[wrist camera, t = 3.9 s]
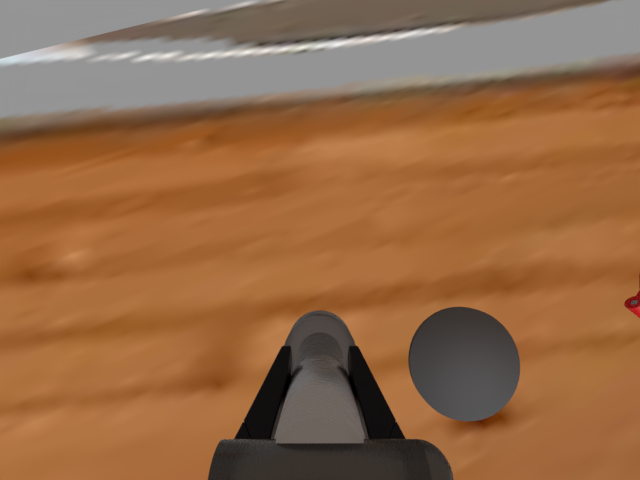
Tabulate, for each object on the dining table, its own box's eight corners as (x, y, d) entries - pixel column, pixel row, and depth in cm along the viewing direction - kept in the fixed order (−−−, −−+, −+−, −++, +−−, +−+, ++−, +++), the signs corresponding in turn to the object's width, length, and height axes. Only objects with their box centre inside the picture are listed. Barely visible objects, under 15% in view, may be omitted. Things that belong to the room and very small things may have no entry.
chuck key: (366, 375, 20) (471, 609, 6) (283, 375, 20) (201, 610, 6) (365, 310, 20) (460, 390, 7) (284, 310, 20) (209, 390, 7)
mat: (537, 363, 24) (542, 365, 23) (463, 441, 23) (466, 446, 23) (460, 284, 25) (463, 285, 24) (386, 358, 24) (387, 360, 23)
